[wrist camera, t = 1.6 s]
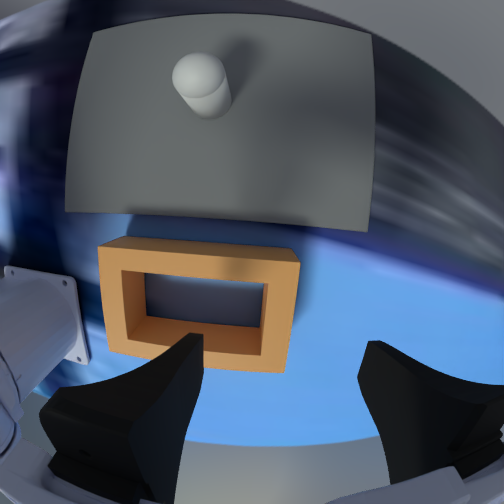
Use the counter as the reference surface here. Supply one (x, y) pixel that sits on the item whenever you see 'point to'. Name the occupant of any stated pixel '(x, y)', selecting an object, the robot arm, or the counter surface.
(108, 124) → the keeper plate
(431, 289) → the counter surface
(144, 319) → the orange rectangular frame
